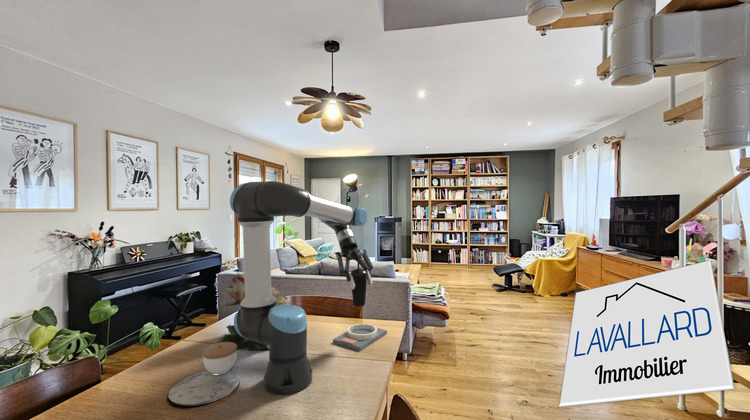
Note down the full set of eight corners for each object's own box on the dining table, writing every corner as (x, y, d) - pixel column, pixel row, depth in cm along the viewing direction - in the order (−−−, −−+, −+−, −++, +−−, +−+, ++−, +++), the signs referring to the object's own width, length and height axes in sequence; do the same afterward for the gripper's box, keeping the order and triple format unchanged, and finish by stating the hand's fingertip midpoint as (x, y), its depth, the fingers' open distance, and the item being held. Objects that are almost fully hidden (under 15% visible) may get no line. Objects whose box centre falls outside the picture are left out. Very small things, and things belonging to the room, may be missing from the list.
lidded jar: (199, 381, 104) (198, 352, 104) (207, 365, 114) (206, 339, 114) (234, 376, 107) (234, 348, 107) (239, 361, 117) (239, 335, 117)
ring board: (360, 351, 125) (360, 342, 125) (332, 342, 132) (332, 334, 132) (387, 333, 142) (387, 325, 141) (361, 327, 149) (361, 319, 149)
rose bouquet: (283, 351, 125) (283, 274, 125) (209, 351, 126) (208, 274, 125) (299, 326, 151) (299, 262, 151) (238, 326, 151) (237, 262, 151)
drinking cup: (369, 301, 136) (368, 254, 136) (367, 307, 129) (366, 258, 128) (351, 301, 137) (350, 254, 136) (348, 307, 130) (347, 258, 129)
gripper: (365, 245, 150) (381, 287, 136) (323, 248, 142) (337, 294, 128) (369, 234, 146) (387, 278, 132) (327, 237, 137) (341, 284, 123)
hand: (362, 286), depth 130 cm, fingers closed on drinking cup, 7 cm apart
